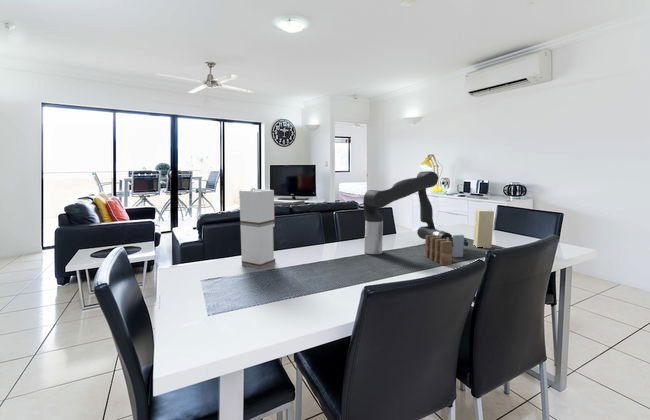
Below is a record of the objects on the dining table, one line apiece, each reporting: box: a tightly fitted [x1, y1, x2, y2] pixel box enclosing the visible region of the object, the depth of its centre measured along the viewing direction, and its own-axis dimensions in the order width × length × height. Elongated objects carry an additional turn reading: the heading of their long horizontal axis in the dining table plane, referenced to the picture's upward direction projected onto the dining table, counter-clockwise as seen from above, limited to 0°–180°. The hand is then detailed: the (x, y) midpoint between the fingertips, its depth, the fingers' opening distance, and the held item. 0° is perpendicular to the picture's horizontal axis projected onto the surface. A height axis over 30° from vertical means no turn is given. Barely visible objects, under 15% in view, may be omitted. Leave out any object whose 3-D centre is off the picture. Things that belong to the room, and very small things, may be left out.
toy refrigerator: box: [472, 209, 495, 249], centre depth 193 cm, size 8×7×21 cm
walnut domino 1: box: [424, 235, 437, 259], centre depth 173 cm, size 2×5×11 cm, turn 104°
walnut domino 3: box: [433, 239, 447, 264], centre depth 164 cm, size 2×5×11 cm, turn 103°
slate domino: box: [452, 234, 465, 258], centre depth 174 cm, size 2×5×11 cm, turn 103°
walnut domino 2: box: [429, 237, 442, 261], centre depth 168 cm, size 2×5×11 cm, turn 104°
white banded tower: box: [238, 188, 276, 270], centre depth 159 cm, size 11×11×35 cm
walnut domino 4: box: [439, 241, 453, 266], centre depth 160 cm, size 2×5×11 cm, turn 103°
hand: (460, 244), depth 172 cm, fingers open, 8 cm apart
